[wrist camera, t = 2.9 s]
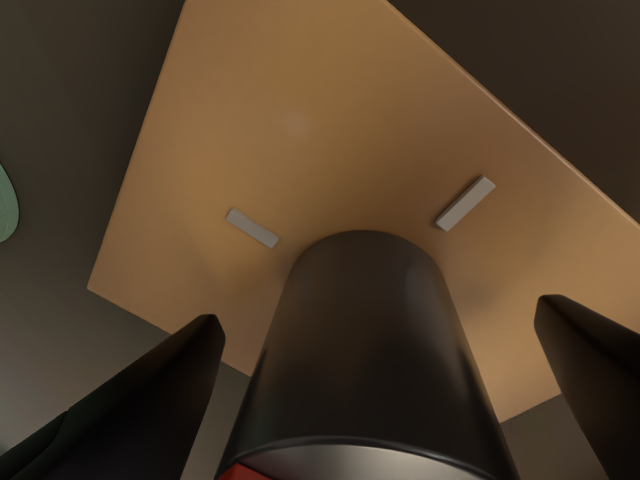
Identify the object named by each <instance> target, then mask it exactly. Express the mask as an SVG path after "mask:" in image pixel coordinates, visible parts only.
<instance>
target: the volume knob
mask: <svg viewBox="0 0 640 480" xmlns="http://www.w3.org/2000/svg"><path fill="white" fill-rule="evenodd" d="M214 480H520V477H519V474H518V472H517V469H516V466H515V464H514V461H513V459H512V456H511V453H510V451H509V448H508V445H507V443H506V440H505V437H504V435H503V432H502V430H501V427H500V424H499V422H498V419H497V416H496V414H495V411H494V408H493V406H492V403H491V401H490V398H489V395H488V393H487V390H486V387H485V385H484V382H483V379H482V377H481V374H480V372H479V369H478V366H477V364H476V361H475V358H474V356H473V353H472V350H471V348H470V345H469V343H468V340H467V337H466V335H465V332H464V329H463V327H462V324H461V321H460V319H459V316H458V314H457V311H456V308H455V306H454V303H453V300H452V298H451V295H450V292H449V290H448V287H447V285H446V282H445V279H444V277H443V275H442V272H441V270H440V269H439V267H438V266H437V264H436V263H435V261H434V260H433V259H432V258H431V257H430V256H429V255H428V254H427V253H426V252H425V251H423V250H422V249H421V248H420V247H418V246H417V245H415V244H413V243H412V242H410V241H408V240H406V239H403V238H401V237H399V236H396V235H393V234H389V233H385V232H379V231H370V230H358V231H349V232H343V233H339V234H335V235H332V236H330V237H327V238H325V239H323V240H320V241H319V242H317V243H315V244H314V245H312V246H311V247H310V248H308V249H307V250H306V251H304V252H303V254H302V255H301V256H300V257H299V258H298V259H297V260H296V262H295V263H294V265H293V266H292V269H291V271H290V273H289V275H288V278H287V281H286V283H285V286H284V289H283V292H282V294H281V297H280V300H279V302H278V305H277V308H276V311H275V313H274V316H273V319H272V321H271V324H270V327H269V330H268V332H267V335H266V338H265V340H264V343H263V346H262V349H261V351H260V354H259V357H258V360H257V362H256V365H255V368H254V370H253V373H252V376H251V379H250V381H249V384H248V387H247V389H246V392H245V395H244V398H243V400H242V403H241V406H240V408H239V411H238V414H237V417H236V419H235V422H234V425H233V428H232V430H231V433H230V436H229V438H228V441H227V444H226V447H225V449H224V452H223V455H222V457H221V460H220V463H219V466H218V468H217V471H216V474H215V476H214Z"/></svg>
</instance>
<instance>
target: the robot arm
mask: <svg viewBox="0 0 640 480" xmlns="http://www.w3.org/2000/svg"><path fill="white" fill-rule="evenodd" d="M534 329H535V332H536V335H537V337H538V339H539V342H540V344H541V346H542V349H543V351H544V353H545V356H546V358H547V360H548V363H549V365H550V367H551V370H552V372H553V374H554V377H555V379H556V381H557V384H558V386H559V388H560V390H561V392H562V395H563V397H564V398H565V400H566V402H567V404H568V406H569V408H570V410H571V411H572V413H573V415H574V417H575V418H576V420H577V422H578V424H579V426H580V427H581V429H582V431H583V433H584V434H585V436H586V438H587V440H588V442H589V443H590V445H591V447H592V449H593V451H594V452H595V454H596V456H597V458H598V459H599V461H600V463H601V465H602V467H603V468H604V470H605V472H606V474H607V475H608V477H609V479H610V480H640V334H638V333H637V332H635V331H633V330H631V329H629V328H627V327H625V326H623V325H621V324H619V323H617V322H615V321H613V320H611V319H609V318H607V317H605V316H603V315H601V314H599V313H597V312H595V311H593V310H591V309H589V308H587V307H585V306H584V305H582V304H580V303H578V302H576V301H574V300H572V299H570V298H568V297H566V296H564V295H561V294H548V295H541V296H540V297H539V298H538V301H537V306H536V311H535V317H534ZM225 342H226V336H225V333H224V331H223V328H222V326H221V324H220V322H219V319H218V317H217V316H216V315H215V314H202V315H199V316H198V317H196V318H195V319H194V320H192V321H191V322H189V323H188V324H187V325H185V326H184V327H182V328H181V329H180V330H178V331H177V332H175V333H174V334H173V335H171V336H170V337H168V338H167V339H166V340H164V341H163V342H161V343H160V344H159V345H157V346H156V347H154V348H153V349H152V350H150V351H149V352H147V353H146V354H145V355H143V356H142V357H140V358H139V359H138V360H136V361H135V362H133V363H132V364H131V365H129V366H128V367H126V368H125V369H124V370H122V371H121V372H119V373H118V374H117V375H115V376H114V377H112V378H111V379H110V380H108V381H107V382H105V383H104V384H103V385H101V386H100V387H98V388H97V389H96V390H94V391H93V392H91V393H90V394H89V395H87V396H86V397H84V398H83V399H82V400H80V401H79V402H77V403H76V404H75V405H73V406H72V407H70V408H69V409H68V411H65V412H63V413H62V414H60V415H59V416H58V417H56V418H55V419H53V420H52V421H51V422H49V423H48V424H46V425H45V426H44V427H42V428H41V429H39V430H38V431H36V432H35V433H33V434H32V435H31V436H29V437H28V438H26V439H25V440H23V441H22V442H21V443H19V444H18V445H16V446H15V447H13V448H12V449H10V450H9V451H7V452H6V453H4V454H3V455H1V456H0V480H180V478H181V475H182V473H183V470H184V467H185V465H186V462H187V459H188V457H189V454H190V451H191V449H192V446H193V443H194V441H195V438H196V435H197V433H198V430H199V427H200V425H201V422H202V419H203V417H204V414H205V411H206V409H207V406H208V403H209V400H210V397H211V394H212V391H213V388H214V384H215V380H216V377H217V373H218V369H219V365H220V362H221V358H222V354H223V350H224V347H225Z"/></svg>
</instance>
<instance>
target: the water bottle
mask: <svg viewBox="0 0 640 480" xmlns="http://www.w3.org/2000/svg"><path fill="white" fill-rule="evenodd" d="M18 218H19V209H18V202H17V198H16V194H15V191H14V189H13V186H12V184H11V182H10V180H9V178H8V176H7V174H6V172H5V171H4V169H3V167H2V166H1V164H0V242H3V241H5V240H6V239H7V238H9V237H10V236H11V235H12V233H13V232H14V231H15V229H16V227H17V223H18Z"/></svg>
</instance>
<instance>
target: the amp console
mask: <svg viewBox="0 0 640 480" xmlns="http://www.w3.org/2000/svg"><path fill="white" fill-rule="evenodd" d="M358 230H370V231H379V232H385V233H389V234H393V235H396V236H399V237H401V238H403V239H406V240H408V241H410V242H412V243H413V244H415V245H417V246H418V247H420V248H421V249H422V250H423V251H425V252H426V253H427V254H428V255H429V256H430V257H431V258H432V259H433V260H434V261H435V263H436V264H437V266H438V267H439V269H440V270H441V272H442V275H443V277H444V279H445V282H446V285H447V287H448V290H449V292H450V295H451V298H452V300H453V303H454V306H455V308H456V311H457V314H458V316H459V319H460V321H461V324H462V327H463V329H464V332H465V335H466V337H467V340H468V343H469V345H470V348H471V350H472V353H473V356H474V358H475V361H476V364H477V366H478V369H479V372H480V374H481V377H482V379H483V382H484V385H485V387H486V390H487V393H488V395H489V398H490V401H491V403H492V406H493V408H494V411H495V414H496V416H497V419H498V422H499V424H500V423H502V422H504V421H506V420H508V419H510V418H512V417H514V416H516V415H518V414H520V413H522V412H524V411H526V410H528V409H530V408H532V407H534V406H536V405H538V404H540V403H542V402H544V401H546V400H548V399H550V398H552V397H554V396H557V395H559V394H561V393H562V392H561V390H560V388H559V386H558V384H557V381H556V379H555V377H554V374H553V372H552V370H551V367H550V365H549V363H548V360H547V358H546V356H545V353H544V351H543V349H542V346H541V344H540V342H539V339H538V337H537V335H536V332H535V329H534V317H535V311H536V306H537V301H538V298H539V297H540V296H541V295H548V294H561V295H564V296H566V297H568V298H570V299H572V300H574V301H576V302H578V303H580V304H582V305H584V306H585V307H587V308H589V309H591V310H593V311H595V312H597V313H599V314H601V315H603V316H605V317H607V318H609V319H611V320H613V321H615V322H617V323H619V324H621V325H623V326H625V327H627V328H629V329H631V330H633V331H635V332H637V333H638V334H640V224H638V223H637V222H636V221H635V220H634V219H633V218H632V217H631V216H629V215H628V214H627V213H626V212H625V211H624V210H623V209H621V208H620V207H619V206H618V205H617V204H616V203H615V202H614V201H612V200H611V199H610V198H609V197H608V196H607V195H606V194H605V193H603V192H602V191H601V190H600V189H599V188H598V187H597V186H596V185H594V184H593V183H592V182H591V181H590V180H589V179H588V178H587V177H585V176H584V175H583V174H582V173H581V172H580V171H579V170H578V169H576V168H575V167H574V166H573V165H572V164H571V163H570V162H568V161H567V160H566V159H565V158H564V157H563V156H562V155H561V154H559V153H558V152H557V151H556V150H555V149H554V148H553V147H552V146H550V145H549V144H548V143H547V142H546V141H545V140H544V139H543V138H541V137H540V136H539V135H538V134H537V133H536V132H535V131H534V130H532V129H531V128H530V127H529V126H528V125H527V124H526V123H525V122H523V121H522V120H521V119H520V118H519V117H518V116H517V115H515V114H514V113H513V112H512V111H511V110H510V109H509V108H508V107H506V106H505V105H504V104H503V103H502V102H501V101H500V100H499V99H497V98H496V97H495V96H494V95H493V94H492V93H491V92H490V91H488V90H487V89H486V88H485V87H484V86H483V85H482V84H481V83H479V82H478V81H477V80H476V79H475V78H474V77H473V76H471V75H470V74H469V73H468V72H467V71H466V70H465V69H464V68H462V67H461V66H460V65H459V64H458V63H457V62H456V61H455V60H453V59H452V58H451V57H450V56H449V55H448V54H447V53H446V52H444V51H443V50H442V49H441V48H440V47H439V46H438V45H437V44H435V43H434V42H433V41H432V40H431V39H430V38H429V37H428V36H426V35H425V34H424V33H423V32H422V31H421V30H420V29H418V28H417V27H416V26H415V25H414V24H413V23H412V22H411V21H409V20H408V19H407V18H406V17H405V16H404V15H403V14H402V13H400V12H399V11H398V10H397V9H396V8H395V7H394V6H393V5H391V4H390V3H389V2H388V1H387V0H185V2H184V5H183V8H182V11H181V14H180V17H179V20H178V23H177V25H176V28H175V31H174V34H173V37H172V40H171V43H170V46H169V49H168V52H167V55H166V58H165V60H164V63H163V66H162V69H161V72H160V75H159V78H158V81H157V84H156V87H155V90H154V93H153V96H152V98H151V101H150V104H149V107H148V110H147V113H146V116H145V119H144V122H143V125H142V128H141V131H140V133H139V136H138V139H137V142H136V145H135V148H134V151H133V154H132V157H131V160H130V163H129V166H128V168H127V171H126V174H125V177H124V180H123V183H122V186H121V189H120V192H119V195H118V198H117V201H116V203H115V206H114V209H113V212H112V215H111V218H110V221H109V224H108V227H107V230H106V233H105V236H104V238H103V241H102V244H101V247H100V250H99V253H98V256H97V259H96V262H95V265H94V268H93V271H92V273H91V276H90V279H89V282H88V285H87V289H88V290H90V291H92V292H94V293H96V294H98V295H99V296H101V297H103V298H105V299H107V300H109V301H111V302H112V303H114V304H116V305H118V306H120V307H122V308H124V309H125V310H127V311H129V312H131V313H133V314H135V315H137V316H138V317H140V318H142V319H144V320H146V321H148V322H150V323H151V324H153V325H155V326H157V327H159V328H161V329H163V330H164V331H166V332H168V333H170V334H172V335H173V334H174V333H175V332H177V331H178V330H180V329H181V328H182V327H184V326H185V325H187V324H188V323H189V322H191V321H192V320H194V319H195V318H196V317H198V316H199V315H202V314H215V315H216V316H217V317H218V319H219V322H220V324H221V326H222V328H223V331H224V333H225V336H226V342H225V347H224V350H223V354H222V358H221V361H222V362H224V363H226V364H228V365H230V366H231V367H233V368H235V369H237V370H239V371H241V372H243V373H244V374H246V375H248V376H250V377H251V376H252V373H253V370H254V368H255V365H256V362H257V360H258V357H259V354H260V351H261V349H262V346H263V343H264V340H265V338H266V335H267V332H268V330H269V327H270V324H271V321H272V319H273V316H274V313H275V311H276V308H277V305H278V302H279V300H280V297H281V294H282V292H283V289H284V286H285V283H286V281H287V278H288V275H289V273H290V271H291V269H292V266H293V265H294V263H295V262H296V260H297V259H298V258H299V257H300V256H301V255H302V254H303V252H304V251H306V250H307V249H308V248H310V247H311V246H312V245H314V244H315V243H317V242H319V241H320V240H323V239H325V238H327V237H330V236H332V235H335V234H339V233H343V232H349V231H358Z"/></svg>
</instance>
